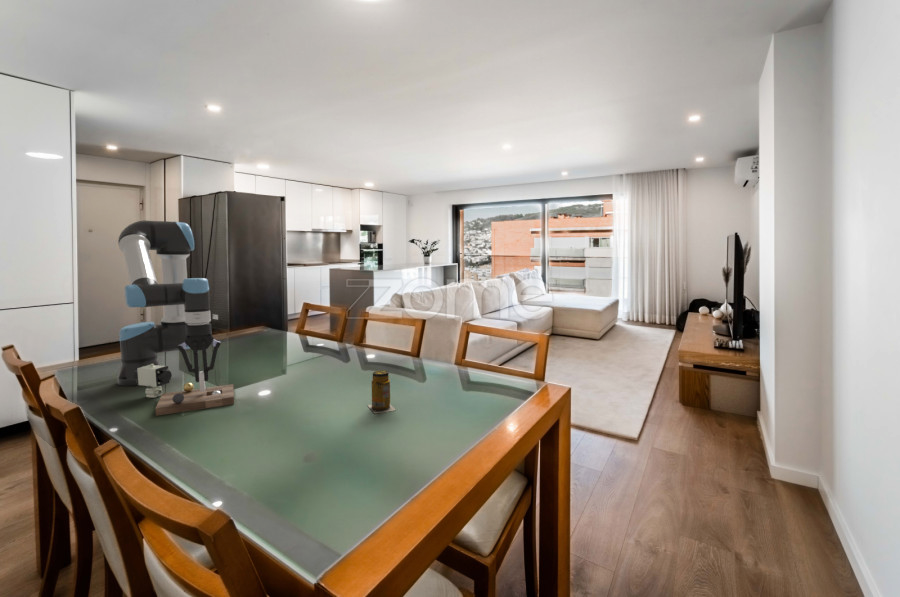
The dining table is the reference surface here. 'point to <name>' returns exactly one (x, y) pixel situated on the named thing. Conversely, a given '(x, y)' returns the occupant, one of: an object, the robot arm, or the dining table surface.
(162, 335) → the robot arm
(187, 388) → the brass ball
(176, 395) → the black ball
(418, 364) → the dining table surface
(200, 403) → the board
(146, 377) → the pneumatic valve
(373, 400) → the condiment
